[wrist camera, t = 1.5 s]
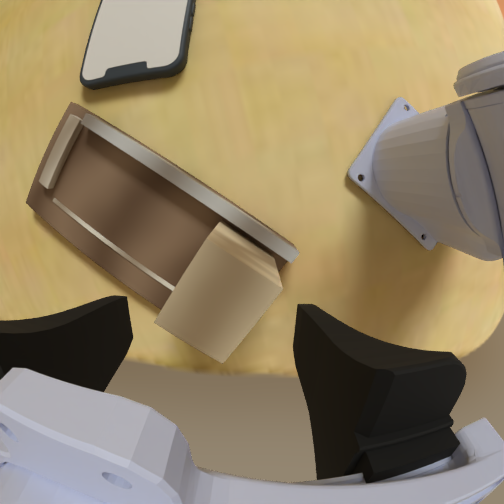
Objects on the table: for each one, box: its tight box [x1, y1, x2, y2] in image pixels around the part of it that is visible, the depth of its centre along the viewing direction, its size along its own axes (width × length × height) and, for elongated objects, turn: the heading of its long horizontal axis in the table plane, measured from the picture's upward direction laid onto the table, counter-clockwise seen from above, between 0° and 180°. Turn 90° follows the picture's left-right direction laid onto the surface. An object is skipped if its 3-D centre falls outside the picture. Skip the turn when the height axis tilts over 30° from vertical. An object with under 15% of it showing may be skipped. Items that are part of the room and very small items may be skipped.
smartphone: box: [80, 0, 196, 90], centre depth 14 cm, size 9×2×16 cm
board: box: [26, 102, 299, 310], centre depth 18 cm, size 20×9×2 cm, turn 55°
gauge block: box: [154, 220, 283, 364], centre depth 15 cm, size 4×5×6 cm
